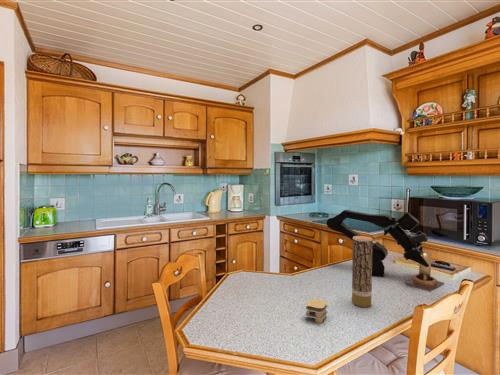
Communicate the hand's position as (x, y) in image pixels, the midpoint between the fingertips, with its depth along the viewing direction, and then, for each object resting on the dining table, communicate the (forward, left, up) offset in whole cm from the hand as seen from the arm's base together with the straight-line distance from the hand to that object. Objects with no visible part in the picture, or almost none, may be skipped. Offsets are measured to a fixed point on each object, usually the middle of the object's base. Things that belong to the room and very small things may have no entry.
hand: (428, 265), depth 119 cm
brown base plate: (-1, 0, -9) cm, 9 cm away
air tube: (-1, 0, -7) cm, 7 cm away
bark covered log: (-30, -28, -9) cm, 42 cm away
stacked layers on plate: (-46, -43, -9) cm, 64 cm away
